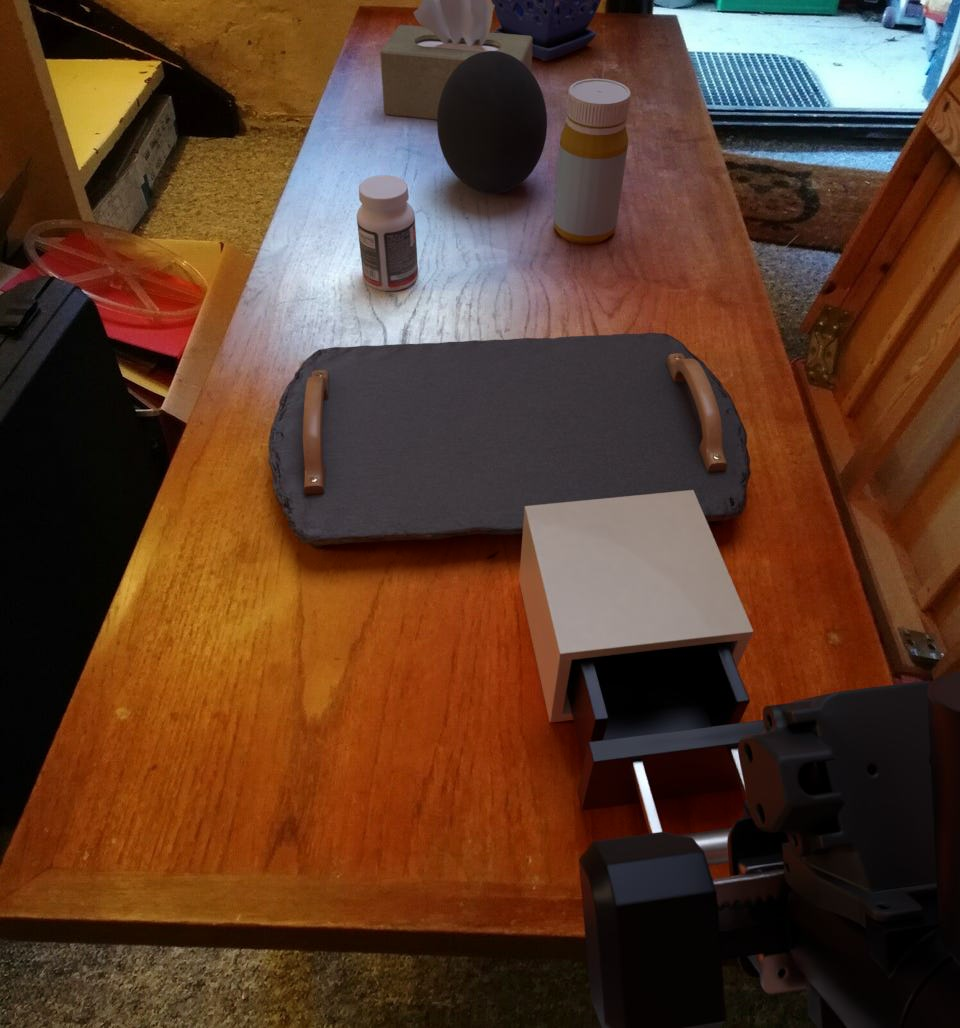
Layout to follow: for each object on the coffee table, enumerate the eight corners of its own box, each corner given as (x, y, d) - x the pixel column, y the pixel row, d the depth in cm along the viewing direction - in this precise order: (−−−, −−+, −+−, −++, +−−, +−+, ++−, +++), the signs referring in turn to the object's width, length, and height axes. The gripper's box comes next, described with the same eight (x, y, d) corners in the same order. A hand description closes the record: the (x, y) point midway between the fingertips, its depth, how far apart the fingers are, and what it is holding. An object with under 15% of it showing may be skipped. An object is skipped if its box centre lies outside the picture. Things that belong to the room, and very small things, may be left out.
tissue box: (381, 115, 115) (372, -19, 103) (400, 86, 121) (393, -43, 110) (520, 128, 113) (526, -6, 101) (531, 98, 119) (538, -32, 107)
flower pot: (539, 25, 138) (544, -62, 129) (604, 47, 132) (614, -42, 123) (482, 46, 132) (483, -43, 123) (548, 71, 126) (554, -21, 117)
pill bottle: (420, 263, 91) (416, 173, 83) (416, 293, 87) (411, 202, 80) (366, 261, 91) (357, 171, 84) (359, 292, 87) (349, 200, 80)
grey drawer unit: (723, 701, 56) (754, 631, 50) (549, 723, 55) (559, 654, 49) (672, 564, 64) (693, 489, 58) (518, 580, 63) (524, 505, 57)
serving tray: (697, 354, 81) (711, 297, 76) (775, 540, 65) (798, 484, 61) (283, 373, 78) (271, 316, 74) (262, 572, 63) (246, 516, 58)
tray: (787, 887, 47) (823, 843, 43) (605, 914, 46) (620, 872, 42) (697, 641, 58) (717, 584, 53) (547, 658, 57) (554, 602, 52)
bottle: (545, 239, 94) (556, 99, 83) (561, 209, 99) (574, 72, 88) (607, 251, 93) (627, 110, 82) (621, 220, 97) (641, 82, 86)
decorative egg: (559, 203, 100) (571, 67, 89) (460, 222, 97) (459, 84, 85) (517, 157, 107) (523, 26, 96) (424, 173, 104) (419, 40, 93)
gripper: (1301, 703, 23) (935, 611, 39) (633, 791, 21) (530, 657, 37) (1315, 1095, 24) (950, 850, 39) (667, 1215, 22) (551, 907, 37)
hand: (751, 811), depth 38 cm, fingers closed
